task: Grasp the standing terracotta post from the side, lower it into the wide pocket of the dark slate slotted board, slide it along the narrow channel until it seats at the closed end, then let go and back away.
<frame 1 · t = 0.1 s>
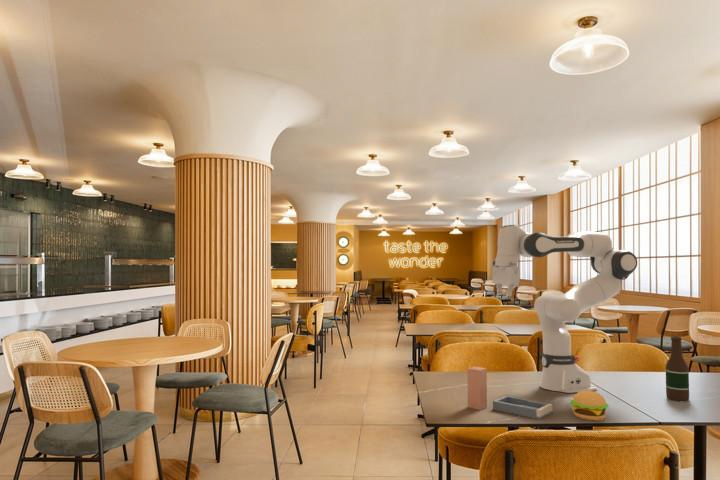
hand: (504, 295, 216), 39 cm above the table, tool pointing down, fingers open, 8 cm apart
beer bottle: (677, 399, 200), on the table
hamburger: (589, 417, 177), on the table
post: (477, 407, 188), on the table
slot board: (522, 411, 183), on the table
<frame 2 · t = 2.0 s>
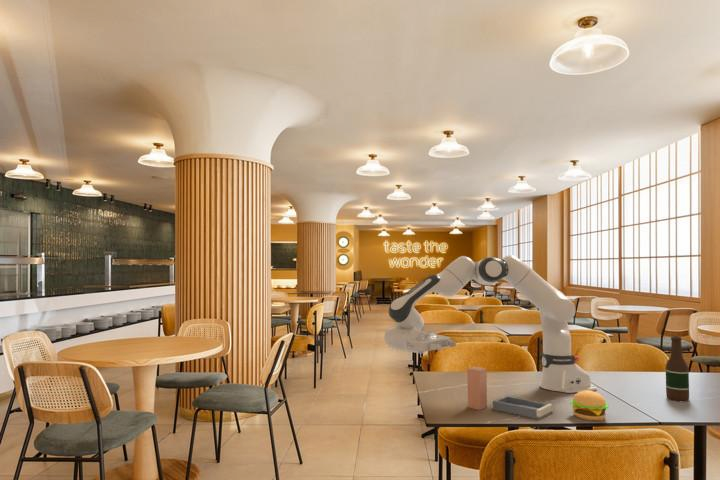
hand: (448, 346, 197), 21 cm above the table, tool horizontal, fingers open, 8 cm apart
nothing on the table moved.
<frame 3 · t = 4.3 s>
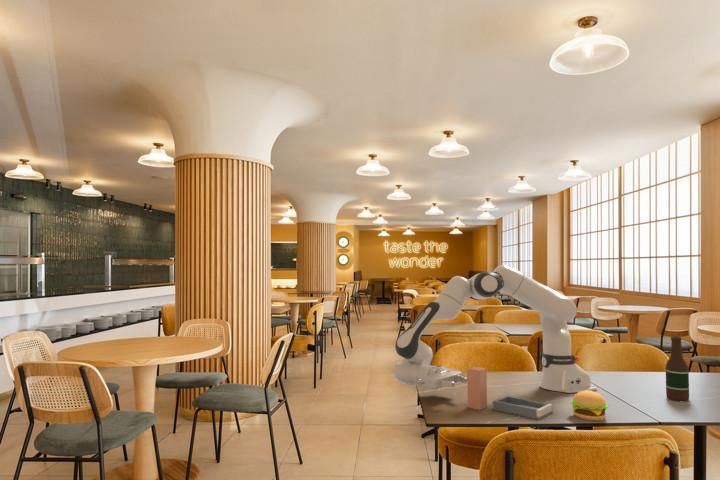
hand: (460, 382, 194), 8 cm above the table, tool horizontal, fingers open, 8 cm apart
nothing on the table moved.
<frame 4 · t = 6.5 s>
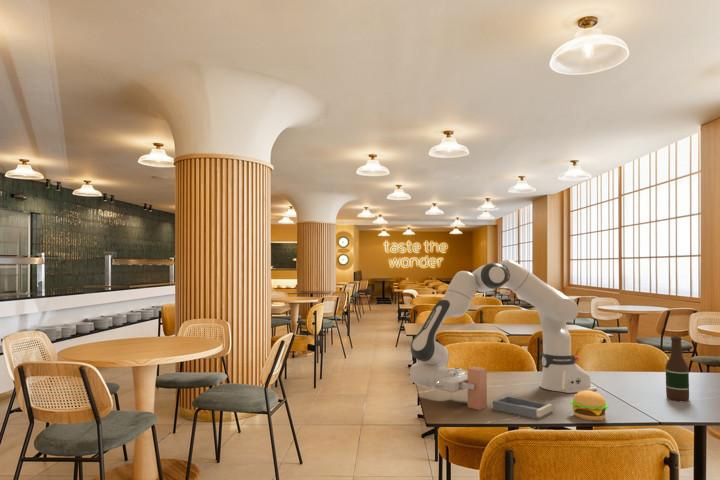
hand: (479, 385, 188), 8 cm above the table, tool horizontal, fingers closed on post, 5 cm apart
post: (477, 407, 188), on the table, touching gripper
everything else where it was.
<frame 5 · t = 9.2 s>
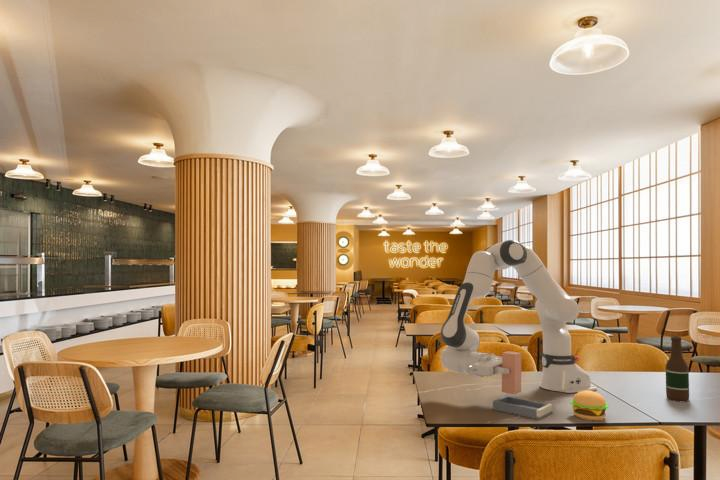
hand: (513, 370, 185), 14 cm above the table, tool horizontal, fingers closed on post, 5 cm apart
post: (511, 392, 186), point 6 cm above the table, touching gripper
everything else where it was.
when the fingers open (10 cm above the table, at t = 12.0 s): post stays where it is, resting on slot board.
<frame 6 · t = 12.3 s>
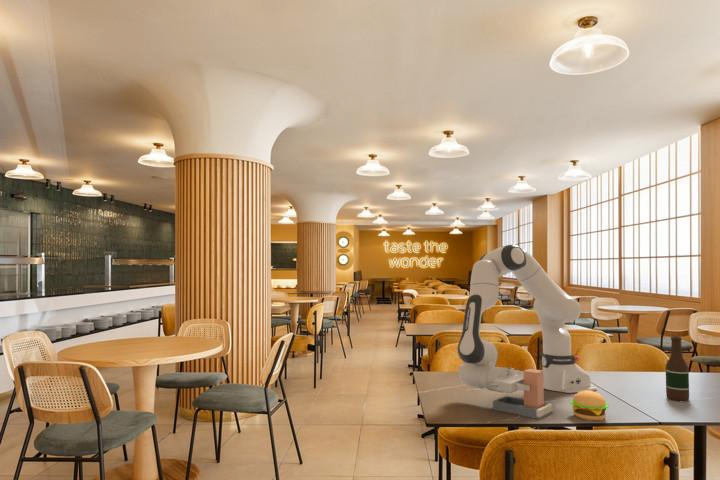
hand: (536, 385, 180), 10 cm above the table, tool horizontal, fingers open, 8 cm apart
post: (534, 411, 180), point 1 cm above the table, touching slot board
everything else where it was.
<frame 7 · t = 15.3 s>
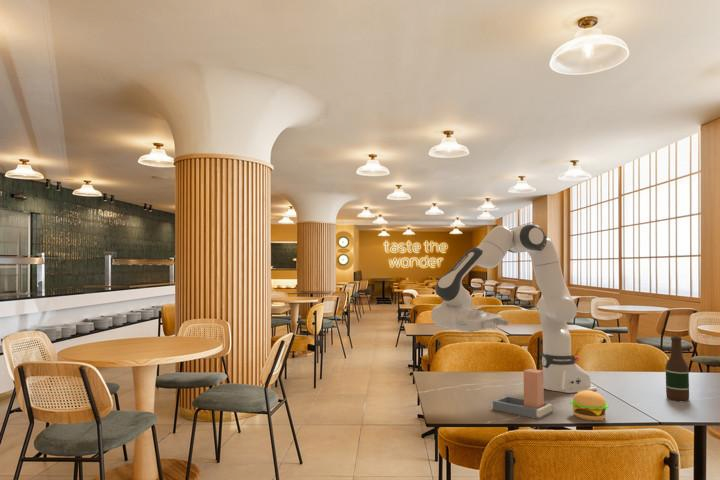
hand: (502, 324, 190), 30 cm above the table, tool horizontal, fingers open, 8 cm apart
nothing on the table moved.
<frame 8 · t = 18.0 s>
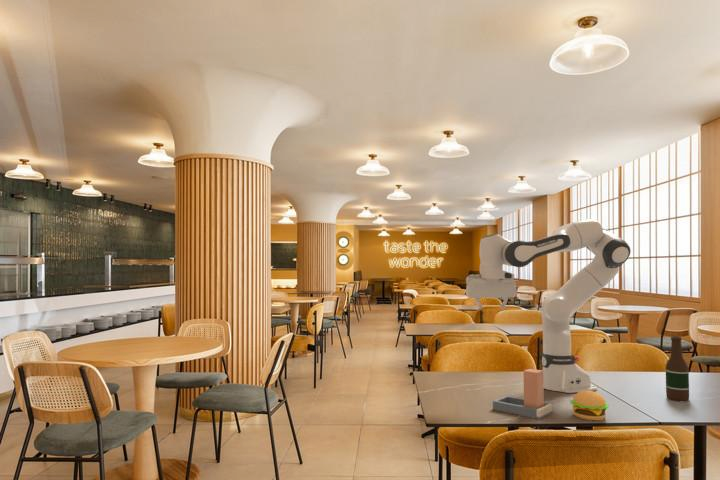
hand: (491, 308, 207), 34 cm above the table, tool pointing down, fingers open, 8 cm apart
nothing on the table moved.
at the end: post 0.1 cm from the target spot, point 0.8 cm above the table; post tilted 0°; the gripper is holding nothing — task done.
